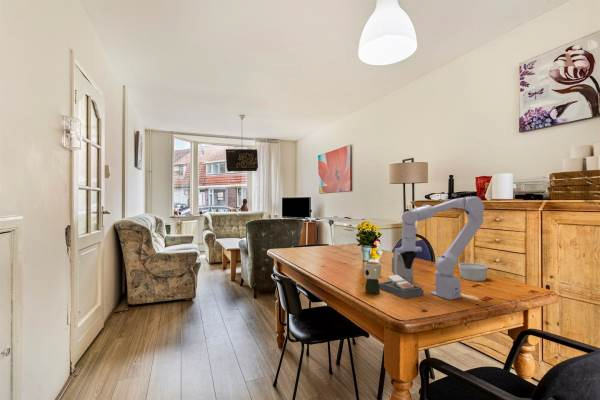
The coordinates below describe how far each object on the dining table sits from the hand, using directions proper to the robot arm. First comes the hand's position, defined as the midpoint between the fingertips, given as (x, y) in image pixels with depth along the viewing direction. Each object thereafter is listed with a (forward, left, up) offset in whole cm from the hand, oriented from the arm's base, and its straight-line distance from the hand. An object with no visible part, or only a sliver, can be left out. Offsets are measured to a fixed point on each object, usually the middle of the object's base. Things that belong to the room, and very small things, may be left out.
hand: (408, 268), depth 132 cm
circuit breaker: (+14, -10, -11) cm, 20 cm away
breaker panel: (+2, +3, -10) cm, 11 cm away
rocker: (+2, +3, -6) cm, 7 cm away
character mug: (+6, +15, -11) cm, 19 cm away
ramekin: (+1, -47, -11) cm, 49 cm away
